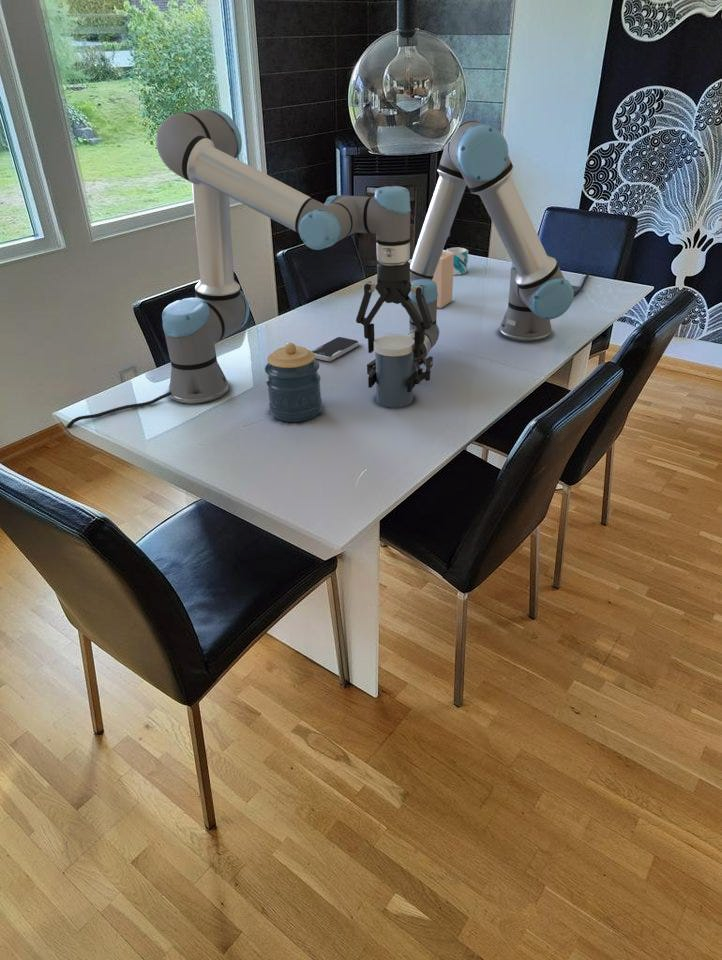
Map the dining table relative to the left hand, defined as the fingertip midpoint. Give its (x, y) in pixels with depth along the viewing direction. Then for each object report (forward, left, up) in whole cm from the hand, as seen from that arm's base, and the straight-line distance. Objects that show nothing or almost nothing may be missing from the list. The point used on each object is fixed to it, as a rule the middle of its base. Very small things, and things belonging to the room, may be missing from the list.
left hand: (394, 353), depth 163 cm
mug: (+108, +44, -13) cm, 117 cm away
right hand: (-4, -1, -6) cm, 8 cm away
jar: (0, 0, -13) cm, 13 cm away
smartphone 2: (+104, +1, -13) cm, 104 cm away
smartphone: (+17, +33, -13) cm, 39 cm away
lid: (0, 0, +3) cm, 3 cm away
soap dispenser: (+72, +31, -13) cm, 79 cm away
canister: (-19, +17, -13) cm, 28 cm away
